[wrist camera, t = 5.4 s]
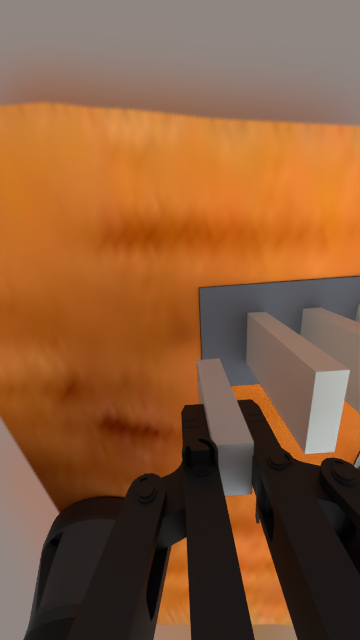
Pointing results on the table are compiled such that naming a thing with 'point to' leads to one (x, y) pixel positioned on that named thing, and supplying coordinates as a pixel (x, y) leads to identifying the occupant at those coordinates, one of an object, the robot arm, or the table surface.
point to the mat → (277, 300)
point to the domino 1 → (297, 381)
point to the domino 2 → (336, 344)
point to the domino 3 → (358, 314)
